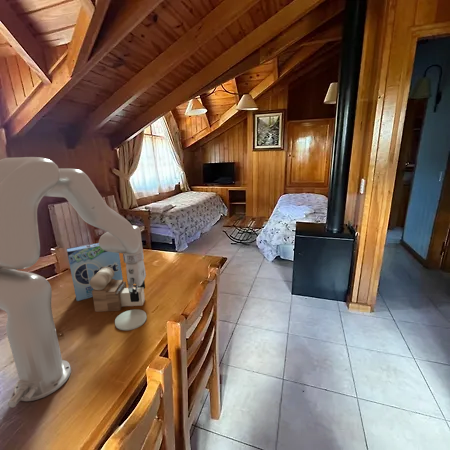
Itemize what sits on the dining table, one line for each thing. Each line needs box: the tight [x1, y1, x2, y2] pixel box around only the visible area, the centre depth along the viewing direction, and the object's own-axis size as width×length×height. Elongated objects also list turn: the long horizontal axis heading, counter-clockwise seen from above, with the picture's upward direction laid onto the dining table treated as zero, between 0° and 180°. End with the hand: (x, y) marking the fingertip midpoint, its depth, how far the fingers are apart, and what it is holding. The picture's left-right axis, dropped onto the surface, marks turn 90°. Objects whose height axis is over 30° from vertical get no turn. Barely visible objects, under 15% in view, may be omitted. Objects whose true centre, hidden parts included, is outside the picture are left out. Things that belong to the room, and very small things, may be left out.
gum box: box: [66, 242, 124, 302], centre depth 111 cm, size 20×5×23 cm, turn 123°
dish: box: [114, 308, 147, 331], centre depth 94 cm, size 11×11×1 cm
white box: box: [120, 287, 146, 307], centre depth 105 cm, size 4×12×6 cm, turn 94°
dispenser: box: [90, 266, 127, 312], centre depth 103 cm, size 10×10×15 cm
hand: (138, 294), depth 105 cm, fingers open, 9 cm apart
